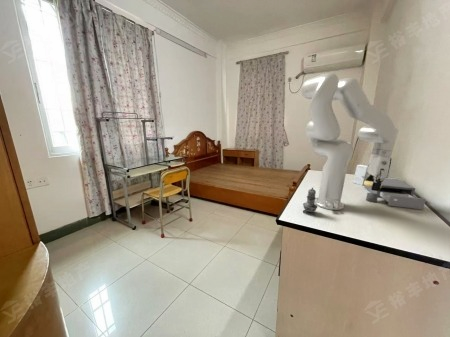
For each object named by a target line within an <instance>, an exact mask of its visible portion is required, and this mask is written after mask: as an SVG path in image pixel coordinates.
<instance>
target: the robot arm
mask: <svg viewBox="0 0 450 337" xmlns="http://www.w3.org/2000/svg"><path fill="white" fill-rule="evenodd" d="M300 93H301V95H302V96H303V97H304V98H305V99H307V100H311V101H310V102H309V107H308V112H309V116H310V119H311V120H309V122H307V124H306V127H305V135H306V138H307V140H308V142H309V144H310V145H311V148H312V150H313V151H314V153H315V154H316V155H317V156H319V157H320V158H324V159H327V160H326V161H325V163H324V164H323V167H322V171H321V178H320V184H319V192H318V197H315V198H316V199H315V202H314V203H315V205H317V207H319V208H323V209H325V210H330V211H331V210H332V211H341V210H343V209H344V208H345V207H344V206H345V204H344V203H343V202H342V197H343V191H344V186H345V182H346V181H345V179H346V174H347V170H348V165H349V162H350V159H351V158H352V155H353V152H354V151H353V150H354V147H353V146H352V144H351V142H349V141H348V140H344V139H338V138H340V136H341V126H340V124H339V121H338V118H337V117H336V114H335V112H334V110H333V105H332V103H333V101H339V102H340V104H341V106H343V108H344V110H345V111H346V114H347V115H348V117H349V118H351V119H354V120H356V121H359V122H362V123H365V124H367V125H364V126H362V127H361V128H359V130H358V132H357V137H358V139H360V140H361V141H363V142H370V143H373V146H372V150H371V152H370V153H371V154H370V156H371V158H370V159H369V163H368V165H367V166H368V170H367V172H368V173H367V174H368V175H367V179H366V181H373V185H372V188H371V190H374V191H380V187H381V184H382V182H383V181H384V179H385V178H388V173H389V169H390V165H391V164H390V163H391V158H392V155H393V152H394V147H395V144H396V140H397V137H398V134H399V128H398V127H396V126H395V124H394V121H393V120H392V118H391V117H390V116H389V114H386V112H384V111H383V110H381V109H379V108H378V107H376V106H374V105H373V104H371V102H370V100H369V99H368V97H367V95H366V94H365V91H364V90H363V87H362V86H361V84H360V82H359V80H358V79H357V78H355V77H344V78H340V79H339V76H338V75H337V74H336V73H334V72H325V73H322V74H319V75H317V76H314V77H310V78H309V79H307V80H305V81H304V82H303V83H302V84H301V89H300ZM373 178H374V179H373ZM377 178H378V179H377Z"/></svg>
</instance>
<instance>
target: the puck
mask: <svg viewBox="0 0 450 337" xmlns="http://www.w3.org/2000/svg"><path fill="white" fill-rule="evenodd" d="M365 200H366V201H367V202H370V203H377V202H378V195H377V194H374V193H370V192H367V193H366V198H365Z"/></svg>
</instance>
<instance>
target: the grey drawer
mask: <svg viewBox="0 0 450 337" xmlns="http://www.w3.org/2000/svg"><path fill="white" fill-rule="evenodd" d="M379 195H380V196H381V197H382V198H381V199H383V200H384V201H386V202H387V206H389V207H390V206H391V207H397V208H398V207H399V208H405V209H406V208H407V209H416V210H424V208H425V205H426V202H427V198H424V197H423V198H421V197H414V195H413V196H411V195H409V194H408V193H406V192H404V191H402V193H394V192H384V191H380V192H379Z"/></svg>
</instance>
